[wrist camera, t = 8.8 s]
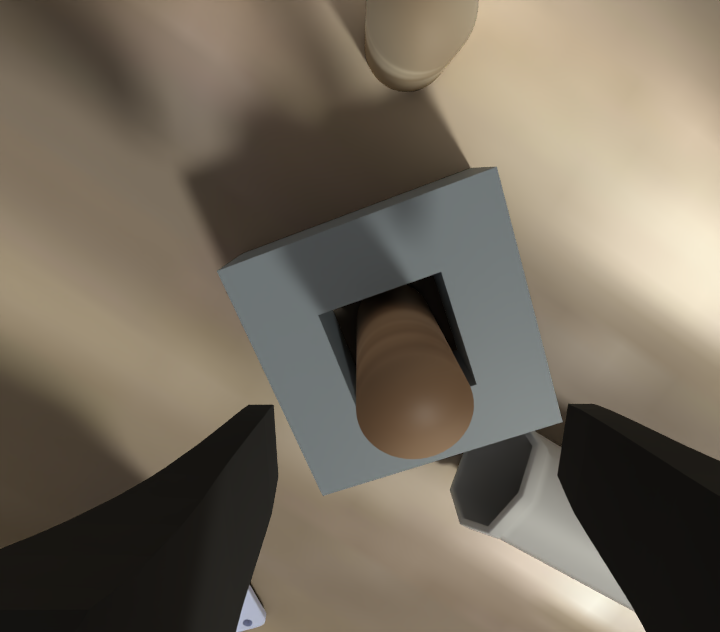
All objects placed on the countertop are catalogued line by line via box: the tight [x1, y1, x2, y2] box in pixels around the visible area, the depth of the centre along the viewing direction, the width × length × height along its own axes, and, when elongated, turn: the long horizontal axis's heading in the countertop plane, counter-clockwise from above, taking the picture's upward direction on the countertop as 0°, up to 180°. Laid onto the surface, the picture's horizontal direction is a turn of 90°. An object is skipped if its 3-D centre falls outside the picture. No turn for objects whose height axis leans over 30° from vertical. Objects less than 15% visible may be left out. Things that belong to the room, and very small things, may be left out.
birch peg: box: [365, 0, 479, 92], centre depth 15 cm, size 3×3×4 cm
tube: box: [450, 431, 635, 612], centre depth 22 cm, size 5×5×25 cm
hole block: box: [217, 167, 563, 496], centre depth 18 cm, size 10×10×4 cm
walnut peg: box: [356, 285, 474, 459], centre depth 16 cm, size 3×3×8 cm
